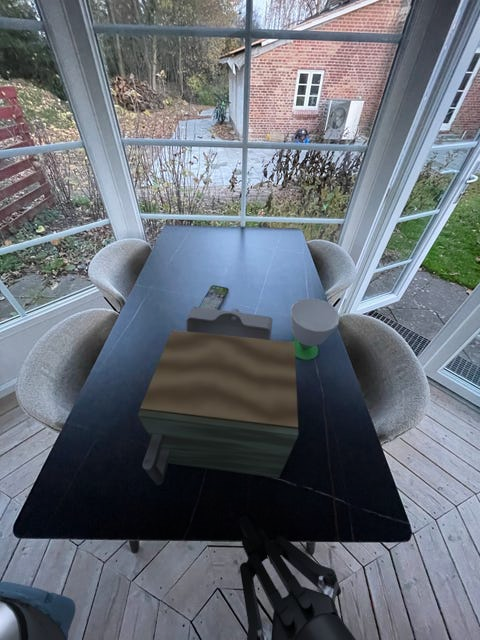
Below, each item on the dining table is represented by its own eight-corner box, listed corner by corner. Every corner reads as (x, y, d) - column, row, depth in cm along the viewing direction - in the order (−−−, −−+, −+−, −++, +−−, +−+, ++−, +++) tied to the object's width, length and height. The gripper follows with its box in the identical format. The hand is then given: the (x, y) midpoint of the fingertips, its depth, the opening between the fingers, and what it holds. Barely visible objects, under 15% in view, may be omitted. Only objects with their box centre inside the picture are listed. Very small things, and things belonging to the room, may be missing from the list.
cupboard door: (278, 510, 55) (300, 476, 38) (155, 492, 57) (122, 453, 40) (279, 473, 60) (298, 429, 43) (165, 458, 61) (139, 409, 44)
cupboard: (279, 472, 60) (298, 427, 43) (165, 457, 62) (140, 408, 44) (279, 399, 73) (294, 342, 55) (185, 389, 74) (171, 330, 57)
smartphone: (229, 288, 106) (217, 312, 95) (229, 290, 106) (217, 314, 96) (211, 284, 107) (197, 308, 96) (211, 287, 108) (198, 310, 97)
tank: (270, 329, 91) (274, 302, 83) (265, 367, 80) (270, 340, 71) (200, 319, 94) (197, 292, 85) (186, 354, 83) (181, 327, 74)
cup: (332, 362, 82) (349, 327, 71) (290, 369, 80) (300, 334, 69) (315, 330, 91) (327, 295, 80) (277, 336, 89) (284, 300, 78)
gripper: (298, 803, 22) (217, 568, 44) (402, 675, 26) (282, 520, 48) (270, 727, 21) (202, 527, 43) (381, 609, 26) (269, 483, 48)
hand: (244, 524), depth 46 cm, fingers closed
